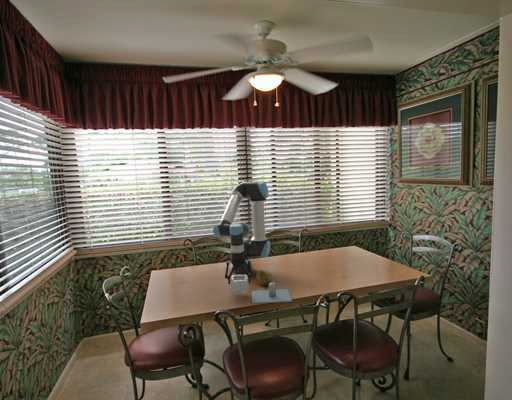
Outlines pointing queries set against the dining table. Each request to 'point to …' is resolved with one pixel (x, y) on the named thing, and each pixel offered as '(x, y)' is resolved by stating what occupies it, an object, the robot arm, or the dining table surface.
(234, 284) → the grey open box
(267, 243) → the robot arm
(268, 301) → the vent plate
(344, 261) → the dining table surface
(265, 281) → the potato
